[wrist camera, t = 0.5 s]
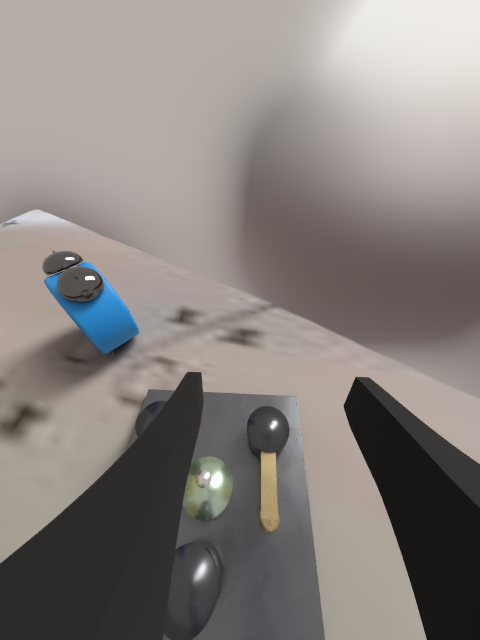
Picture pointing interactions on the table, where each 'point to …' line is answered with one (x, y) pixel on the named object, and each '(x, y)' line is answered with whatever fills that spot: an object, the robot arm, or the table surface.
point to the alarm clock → (89, 300)
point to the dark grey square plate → (250, 524)
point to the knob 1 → (148, 416)
